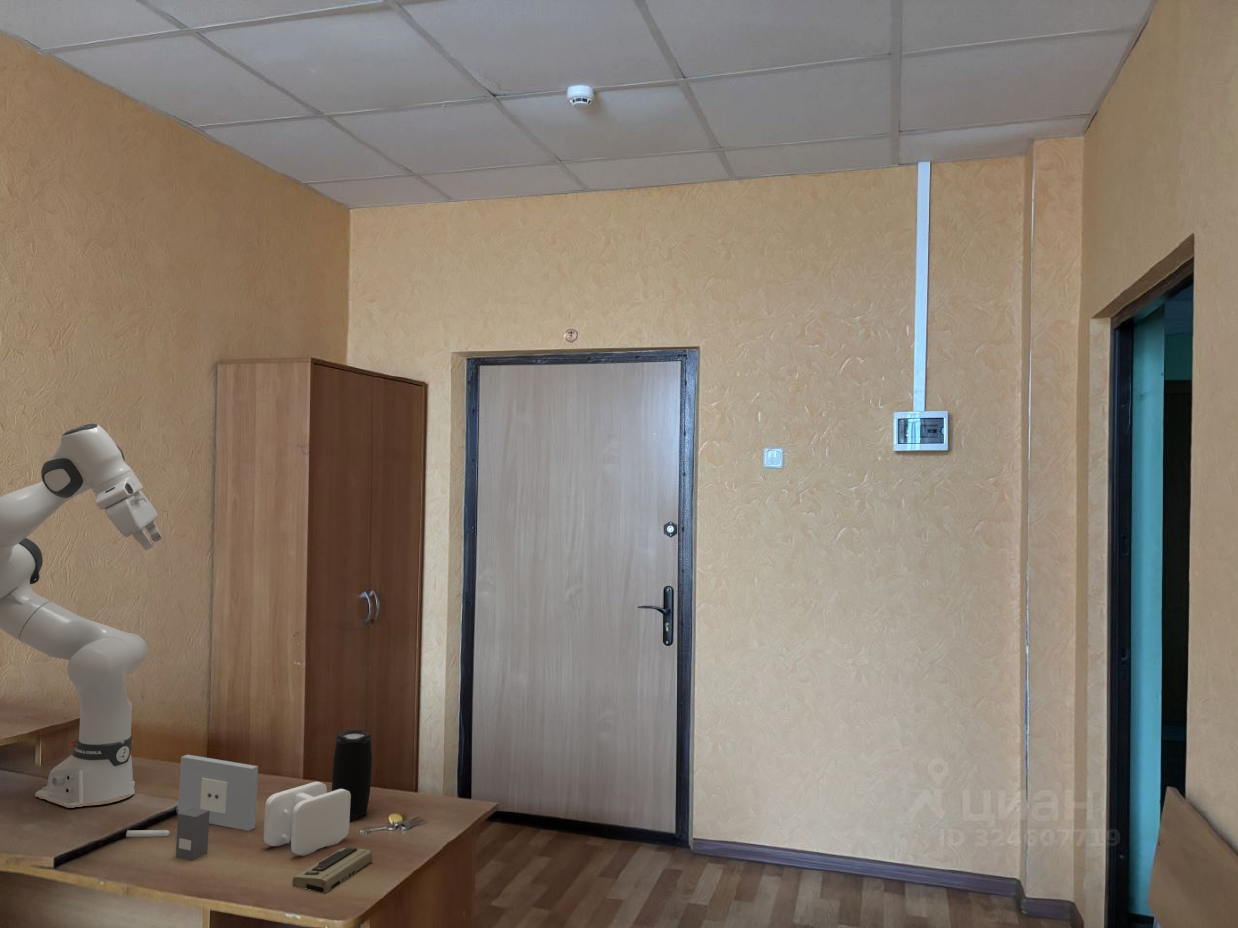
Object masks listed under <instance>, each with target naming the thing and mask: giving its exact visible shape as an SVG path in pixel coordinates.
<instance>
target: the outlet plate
mask: <svg viewBox="0 0 1238 928" xmlns="http://www.w3.org/2000/svg"><path fill="white" fill-rule="evenodd" d="M258 775H259V766H258V765H255V764H254V765H252V764H246V763H241V762H234V761H229V760H221V759H218V758H217V759H216V758H210V757H205V756H199V755H192V754H185V755H182V756H181V757H180V770H179V788H178V803H177V804H178V806H177V815H178V814H179V813H181V812H183V811H185V810H188V809H190V808H192V807H193V808H199V809H204V810H209V811H210V813H209V825H215V826H221V827H226V828H230V829H237V830H241V831H246V832H249V831H252V830H253V829H255V828H256V816H257V815H256V811H257V798H258V797H257V796H258Z"/></svg>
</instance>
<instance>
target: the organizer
mask: <svg viewBox="0 0 1238 928" xmlns="http://www.w3.org/2000/svg"><path fill="white" fill-rule="evenodd" d="M327 789H328V787H327V785H326V784H325V783H324V782H320V781H313V782H309V783H307V784H303V785H300V786H296V787H293V788H289V789H285V790H282V791H279V792H276V793H273V794H271V795H270V796H269V797H268V798H267V799H266V801H265V808H264V820H263V821H264V824H263V842H264V843H265V844H267V845H268V846H272V847H280V846H281V847H282V846H284V845H286V844H290V849H291V852H292V853H293V854H295V855H298V856H302V857H305V856H308V855H310V854H312V853H315V852H316V851H317V850H319V849H322V848H324V847H329V848H330V846H331V845H332V846H334V845H336V844H337V845H338V844H339V843H340V842H341V841H343V840H344V839H345V838H346V837H347V835H348V834H349V831H350V821H349V819H350V800H351V794H350V792H349V791H347V790H345V789H338V790H335V791H332V790H331V791H329V792H328V790H327Z"/></svg>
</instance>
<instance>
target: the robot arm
mask: <svg viewBox="0 0 1238 928" xmlns="http://www.w3.org/2000/svg"><path fill="white" fill-rule="evenodd" d="M40 471H41V472H40V474H41V475H40V477H41V480H42V481H40V482H37V483H35V484H31V485H29V486H26V487H23V488H20V489H17V490H14V491H11V492H9V493H5V494H4V495H1V496H0V629H1V630H2V631H4V632H5V633H6V634H8V635H9V636H11V637H12V638H14V639H16V640H18V641H19V642H21V643H24V644H26V645H28V646H29V647H30V648H33V649H35V650H36V651H39V652H40V653H43V654H44V655H46V656H49V657H50V658H55V659H61V660H65V661H68V663H67V670H66V671H67V676H68V678H69V680H70V681H71V683H72V684H74V685H75V689H76V694H77V698H78V702H79V732H78V733H79V734H78V736H79V737H78V740H74V741H72V742H69V744H70V745H69V748H73V750H72V752H71V755H69V756H68V757H67V758H66V759H64V760H63V761H61V762H60V763H58V764H57V765H56V766H55V767H53V768H52V769H51V770H50V771H49V774H48V777H47V778H48V780H47V785H46V786H43V787H42V788H40V789H39V790H37V791H36V792H35V794H34V797H35V796H41V797H44V798H47V799H50V800H53V801H56V802H59V803H61V804H63V805H66V806H75V805H80V804H85V803H91V802H99V801H103V800H108V799H112V798H116V797H118V796H124V795H127V794H134V795H135V793H136V790H135V786H136V782H135V781H136V780H134V777H133V775H134V774H133V759H132V755H131V753H132V751H133V744H134V741H133V735H132V715H133V704H132V702H131V701H130V700H129V698H128V694H127V689H126V682H125V681H126V677H127V676H129V675H132V674H133V673H135V672H136V671H137V670H138V669H139V668H140V667H141V666H142V664H143V663H144V661H145V660H146V658H147V656H148V646H147V642H146V641H145V639H143V638H142V637H141V636H140V635H138V634H137V633H133V632H126V631H123V630H121V629H117V628H115V627H112V626H109V625H106V624H103V623H101V622H96V621H94V620H90V619H88V618H85V617H83V616H81V615H78V614H77V613H74V612H73V611H71V610H69V609H66V608H65V607H63V606H62V605H59V604H57V603H55V602H53V601H52V600H50V599H47V598H46V597H43V596H41V595H40V594H38V593H36V592H35V591H34V589H32V586H31V585H34V584H36V583H38V582H39V581H40V577H41V576H40V571H41V569H42V566H43V559H44V558H43V553H42V550H41V549H40V547H39V546H38V545H37V544H36V543H35V542H33V541H32V540H31V539H29V538H27V537H28V536H30V535H31V534H32V533H33V532H34V531H36V530H37V529H38V528H39V527H40V526H41V525H42V524H43V523H44V522H45V521H47V519H48V518H50V517H51V516H52V515H53V514H54V513H56V511H58V510H59V508H61V507H62V506H63V505H64V504H66V503H67V502H68V501H70V500H71V499H72V498H74V497H76V496H79V495H81V494H83V493H85V492H86V491H89V490H92V492H93V493H94V495H95V498H96V499H95V504H96V505H97V507H98V509H99V510H101V511H103V510H104V513H105V515H106V516H107V518H108V519H109V520H110V522H111V523H112V524H113V525H114V527H115V528H116V530H117V531H118V532H119V533H120V534H121V535H123V537H125V538H128V537H130V536H133V538H134V540H136V542H138V544H140V545H141V547H142V548H143V549H144V551H149V550H150V549H152V548H153V547H154V546H155V545H154V543H157V542H160V540H162V539H163V536H162V534H161V532H160V530H159V528H158V526H157V523H156V521H155V520H156V519H157V518H158V517H159V515H158V512H157V510H156V508H155V507H154V505H153V504H152V503H151V502H150V500H149V499H148V497H147V495H145V493H144V492H143V491H141V490H142V489H144V486H143V484H142V483H141V481H140V480H139V478H138V477H137V475H136V474H135V472H134V470H133V469H132V468H131V466H129V465H128V464H127V462H125V455H124V452H123V450H122V449H121V448H120V446H119V445H118V444H117V443H115V441H114V440H113V438H112V437H111V436H110V435H109V434H108V432H107V431H106V430H105V428H103V427H101V426H100V425H99V424H97V423H88V424H87V423H86V424H85V425H80V426H79V427H75V428H71V429H69V430H67V431H66V432H64V433H63V434H61V437H60V444H59V446H58V448H57V449H56V451H55V452H54V454H53V455H52V456H51V457H50V458H49V459H48V460H47V461H46V462H44V463H43V465H42V467H41V469H40ZM144 528H145V530H147V532H148V535H150V537H148V535H147V534H146V532H145V530H144ZM153 542H154V543H153ZM70 802H71V803H70Z"/></svg>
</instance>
